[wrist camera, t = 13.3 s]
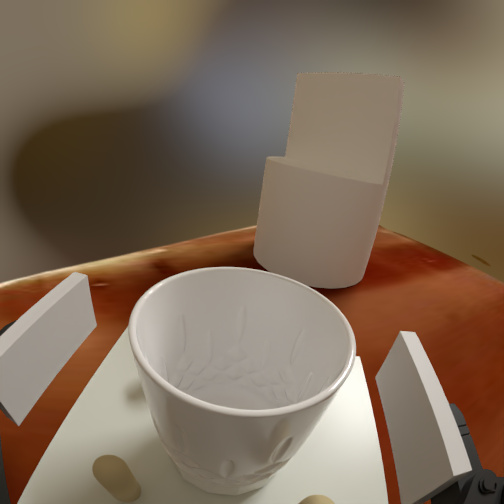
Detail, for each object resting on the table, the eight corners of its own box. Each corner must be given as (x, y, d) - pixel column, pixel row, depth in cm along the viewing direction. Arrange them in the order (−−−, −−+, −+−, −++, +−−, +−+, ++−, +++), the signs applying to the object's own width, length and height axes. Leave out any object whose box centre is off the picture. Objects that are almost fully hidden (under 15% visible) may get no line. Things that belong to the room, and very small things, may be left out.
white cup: (288, 403, 17) (330, 277, 13) (295, 507, 10) (385, 414, 6) (172, 389, 17) (165, 256, 13) (146, 491, 10) (88, 383, 6)
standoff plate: (383, 585, 4) (426, 578, 3) (22, 514, 5) (-16, 491, 4) (355, 364, 23) (371, 330, 21) (135, 326, 24) (130, 289, 22)
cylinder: (305, 232, 54) (330, 86, 43) (382, 271, 42) (421, 97, 31) (230, 245, 44) (254, 58, 32) (316, 302, 32) (365, 48, 20)
